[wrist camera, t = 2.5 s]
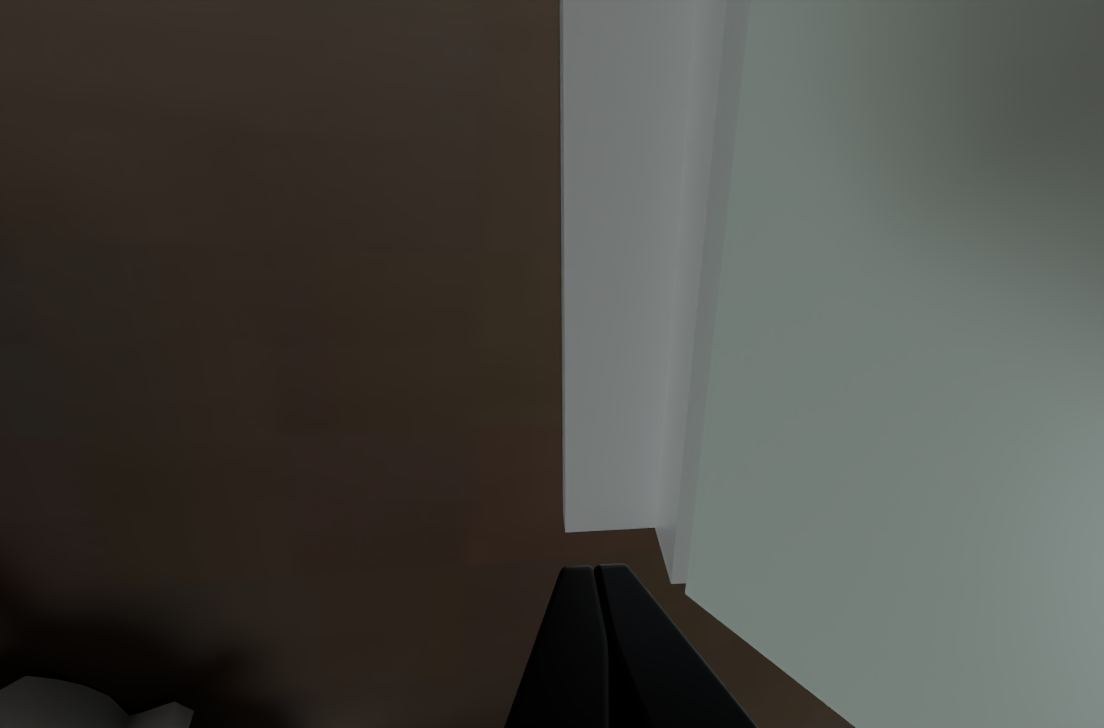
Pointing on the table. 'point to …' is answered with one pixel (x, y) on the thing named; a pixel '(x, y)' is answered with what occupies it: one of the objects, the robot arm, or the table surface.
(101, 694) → the bunny figurine
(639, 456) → the base
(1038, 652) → the duct cover
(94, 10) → the table surface
